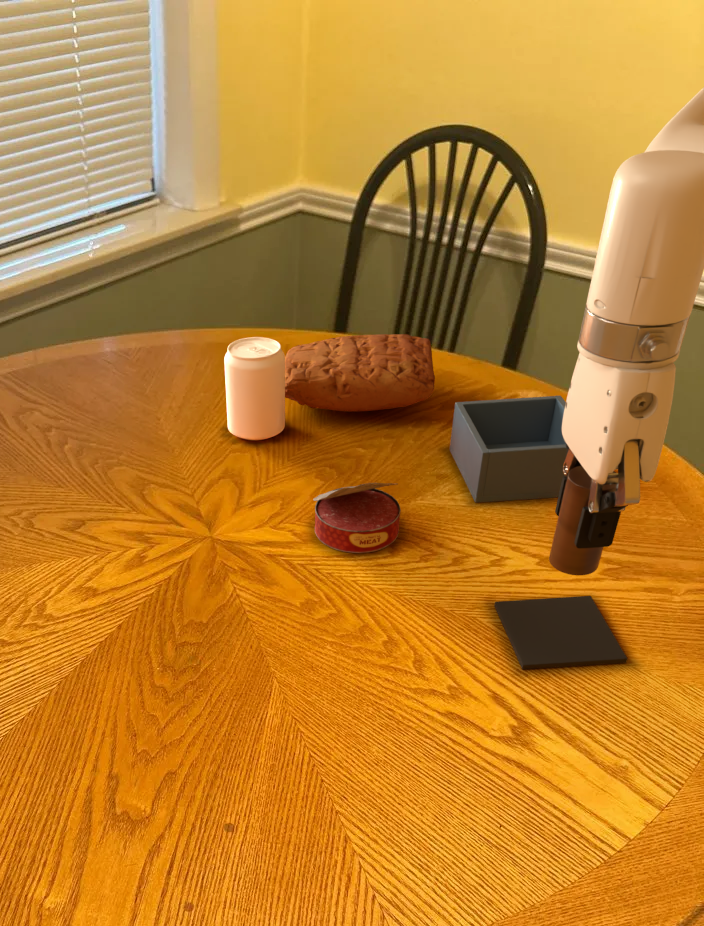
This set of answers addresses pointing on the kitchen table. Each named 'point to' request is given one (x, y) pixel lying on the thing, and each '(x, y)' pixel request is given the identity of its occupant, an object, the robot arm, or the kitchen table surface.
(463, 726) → the kitchen table surface
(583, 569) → the brown cylinder
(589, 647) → the mat
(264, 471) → the kitchen table surface
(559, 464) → the bin
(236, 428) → the beverage can
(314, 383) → the inscribed clay slab
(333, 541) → the canned food
